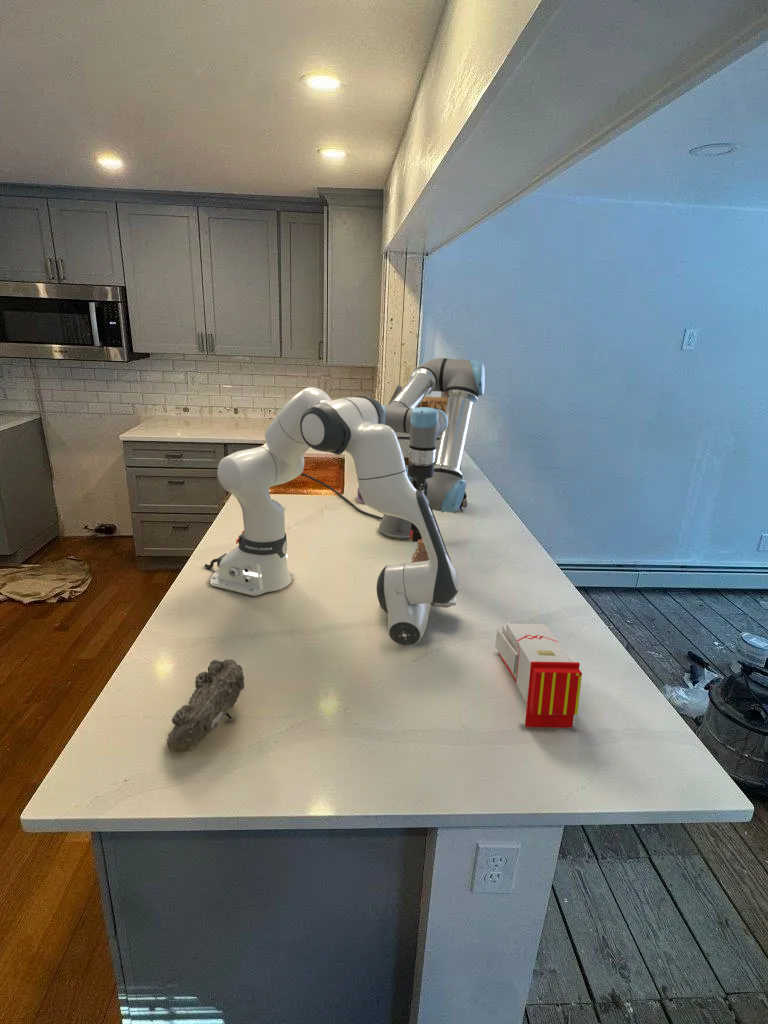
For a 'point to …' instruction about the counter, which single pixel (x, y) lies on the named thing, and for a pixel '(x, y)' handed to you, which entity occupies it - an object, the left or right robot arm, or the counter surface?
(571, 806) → the counter surface
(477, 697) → the counter surface
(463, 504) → the figurine character
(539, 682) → the toy
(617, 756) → the counter surface
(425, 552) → the bottle
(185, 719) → the fossil
